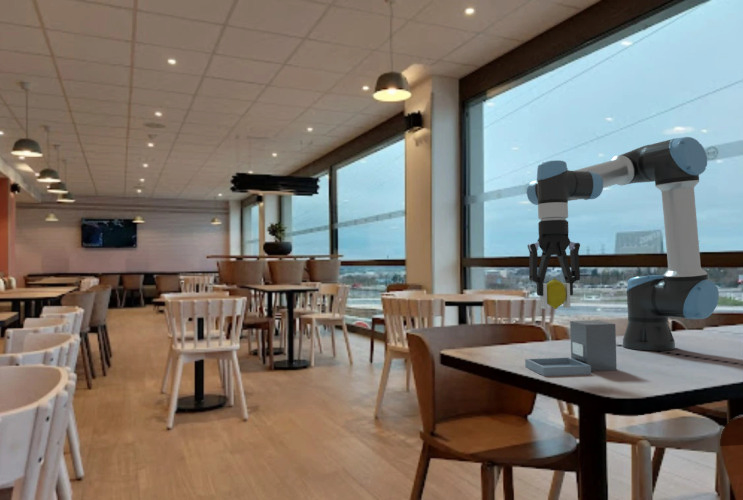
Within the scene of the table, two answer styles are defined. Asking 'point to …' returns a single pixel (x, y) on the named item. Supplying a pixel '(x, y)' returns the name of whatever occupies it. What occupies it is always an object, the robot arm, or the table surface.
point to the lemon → (555, 293)
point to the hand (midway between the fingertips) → (555, 307)
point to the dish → (557, 366)
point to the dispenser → (594, 344)
